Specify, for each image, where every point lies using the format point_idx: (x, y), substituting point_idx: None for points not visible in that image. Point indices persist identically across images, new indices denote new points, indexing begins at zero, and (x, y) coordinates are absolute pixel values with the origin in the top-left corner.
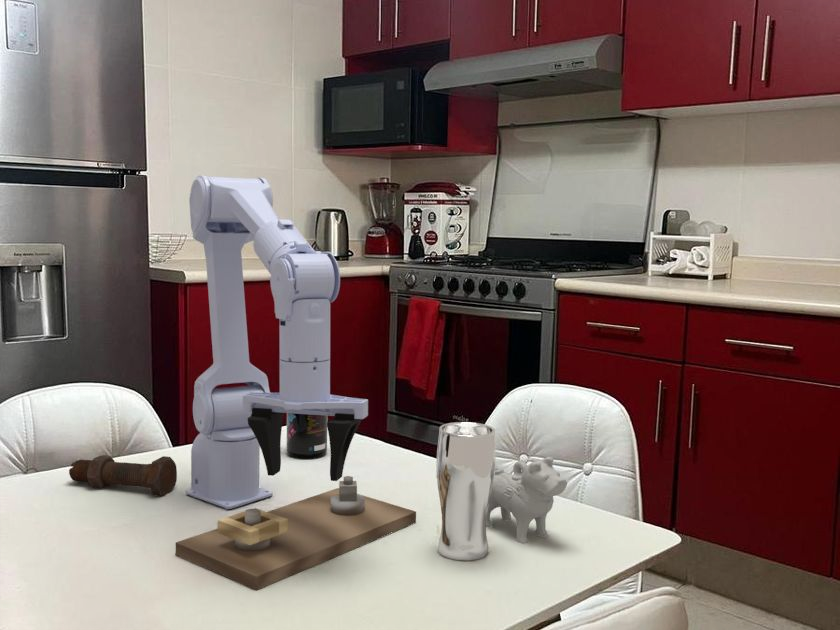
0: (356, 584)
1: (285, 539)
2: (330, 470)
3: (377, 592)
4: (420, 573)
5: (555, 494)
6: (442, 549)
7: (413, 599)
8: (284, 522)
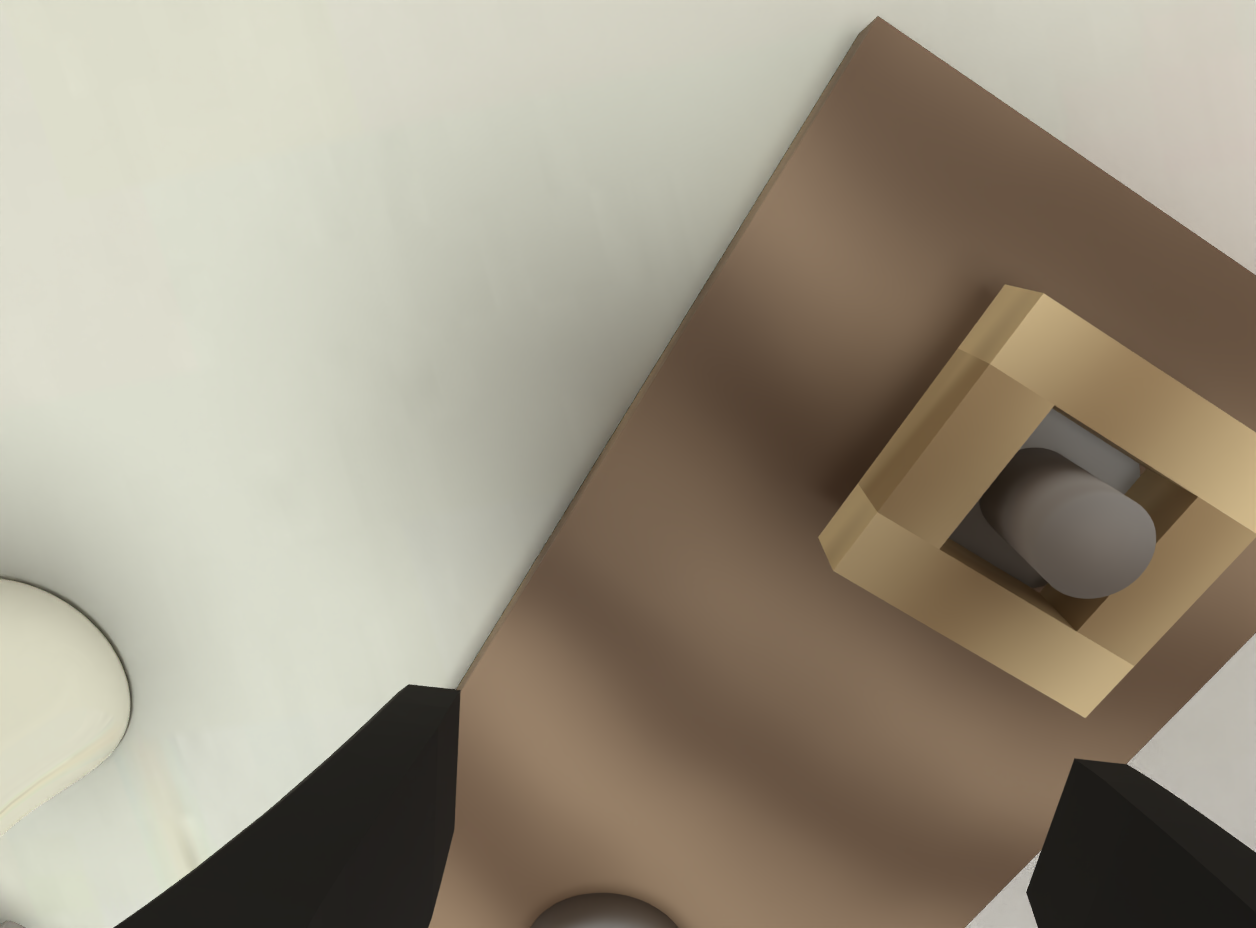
0: (368, 224)
1: (829, 567)
2: (422, 738)
3: (240, 149)
4: (117, 411)
5: None
6: (65, 630)
7: (47, 103)
8: (845, 543)
